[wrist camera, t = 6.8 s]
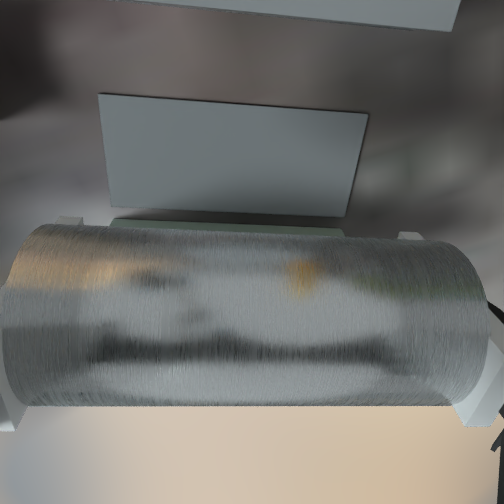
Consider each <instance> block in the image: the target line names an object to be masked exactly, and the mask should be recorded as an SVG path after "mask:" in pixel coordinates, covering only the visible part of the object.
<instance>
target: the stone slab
mask: <svg viewBox="0 0 504 504" xmlns="http://www.w3.org/2000/svg"><path fill="white" fill-rule="evenodd" d="M124 1H134V2H144V3H154V4H164V5H174V6H184V7H194V8H204V9H214V10H224V11H234V12H243V13H253V14H263V15H273V16H283V17H293V18H303V19H313V20H323V21H333V22H343V23H353V24H363V25H373V26H383V27H393V28H403V29H413V30H425V31H444V32H451V31H452V27H453V24H454V21H455V18H456V14H457V11H458V8H459V5H460V2H461V0H124Z"/></svg>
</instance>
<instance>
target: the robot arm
mask: <svg viewBox="0 0 504 504" xmlns="http://www.w3.org/2000/svg"><path fill="white" fill-rule="evenodd" d="M55 224H67V225H84V224H83V218H82V217H64V216H60V218H59V219H58V220H57V221H56V222H55ZM397 239H408V240H425V239H424V238H423V237H422V236H421V235H420V234H419V233H418V232H402V231H400V232H399V235H398V238H397ZM6 283H7V281H6V282H5V283H4V284H3V286H2V287H1V288H0V314H1V307H2V300H3V296H4V291H5V287H6ZM487 303H488V309H489V315H490V326H491V337H488V349H487V356H486V361H485V365H484V368H483V371H482V374H481V377H480V379H479V381H478V383H477V385H476V387H475V388H474V390H473V391H472V392H471V394H470V395H469V396H468V397H467V398H466V399H464V400H463V401H461V402H460V403H457V404H455V405H452V406H453V407H454V409H455V411H456V412H457V414H458V416H459V418H460V419H461V421H462V423H463V424H464V426H465V427H478V426H479V427H483V426H484V427H486V426H487V427H489V426H491V424H492V423H493V421H494V420H495V418H496V417H497V415H498V414H499V413H500V414H501V416H502V417H503V418H504V312H503V311H502V310H501V309H499V308H497V307H496V306H494V305H493V304H491V303H490V302H488V301H487ZM27 407H28V406H27V405H25V404H23V403H21V402H20V401H19V400H18V399H17V398H16V396H15V395H14V393H13V392H12V389H11V387H10V385H9V383H8V379H7V376H6V372H5V367H4V361H3V351H2V329H0V431H16V429H17V427H18V425H19V423H20V421H21V419H22V416H23V415H24V412H25V411H26V409H27ZM499 446H501V452H500V466H499V481H498V497H497V504H504V429H503V430H502V432H501V433H500V435H499V436H498V437H497V439H496V440H495V442H494V443H493V445H492V447H491V450H492V451H494V452H495V451H496V449H497V448H498V447H499Z"/></svg>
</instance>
